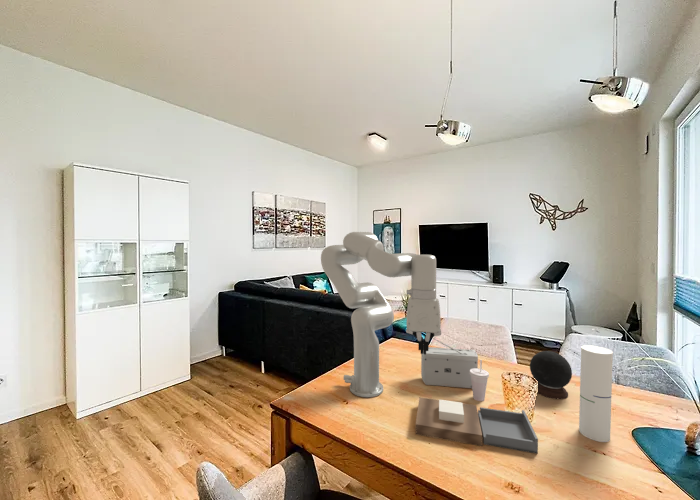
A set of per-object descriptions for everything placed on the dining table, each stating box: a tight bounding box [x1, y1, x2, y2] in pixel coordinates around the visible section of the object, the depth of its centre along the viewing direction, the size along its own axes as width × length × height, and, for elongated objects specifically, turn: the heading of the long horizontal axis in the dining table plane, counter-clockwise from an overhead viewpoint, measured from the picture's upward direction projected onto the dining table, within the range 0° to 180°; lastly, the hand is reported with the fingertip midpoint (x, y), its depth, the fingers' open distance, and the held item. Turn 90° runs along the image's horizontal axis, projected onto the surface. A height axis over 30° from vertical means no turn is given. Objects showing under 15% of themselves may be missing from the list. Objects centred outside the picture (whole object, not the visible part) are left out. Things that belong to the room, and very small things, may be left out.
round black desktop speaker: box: [529, 350, 573, 400], centre depth 115 cm, size 13×13×15 cm
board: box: [415, 396, 483, 447], centre depth 95 cm, size 18×16×3 cm
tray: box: [477, 407, 539, 455], centre depth 90 cm, size 13×14×4 cm
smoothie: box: [470, 359, 490, 402], centre depth 110 cm, size 6×6×14 cm
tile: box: [438, 399, 464, 423], centre depth 94 cm, size 7×7×2 cm
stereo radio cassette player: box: [420, 337, 479, 389], centre depth 121 cm, size 21×8×20 cm, turn 80°
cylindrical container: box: [578, 344, 614, 443], centre depth 89 cm, size 7×7×25 cm
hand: (423, 352), depth 96 cm, fingers closed
